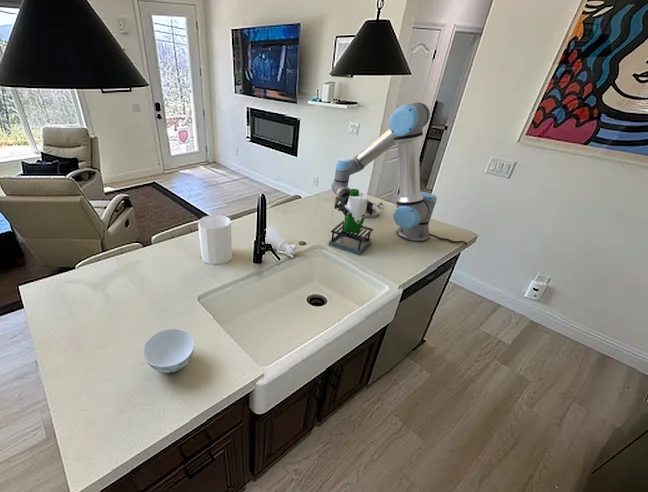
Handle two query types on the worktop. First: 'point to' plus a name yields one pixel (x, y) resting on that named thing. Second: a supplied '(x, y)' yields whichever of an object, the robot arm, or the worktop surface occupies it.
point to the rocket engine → (279, 241)
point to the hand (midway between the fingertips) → (358, 212)
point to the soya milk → (355, 211)
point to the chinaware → (169, 350)
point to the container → (215, 239)
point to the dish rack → (350, 239)
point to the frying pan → (375, 211)
